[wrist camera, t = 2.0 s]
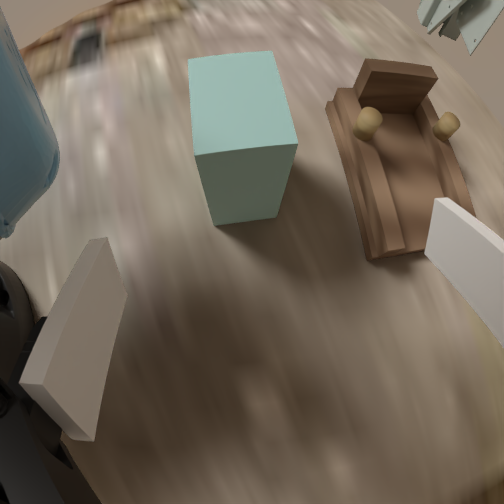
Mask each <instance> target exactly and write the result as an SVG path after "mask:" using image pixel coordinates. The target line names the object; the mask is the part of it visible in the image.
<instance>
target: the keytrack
mask: <svg viewBox="0 0 504 504" xmlns="http://www.w3.org/2000/svg"><path fill="white" fill-rule="evenodd" d="M437 80H438V77H437V75H436V74H435V72H434V70H433V69H432V67H430V66H424V65H418V64H411V63H404V62H396V61H387V60H377V59H365V61H364V63H363V65H362V68H361V70H360V72H359V75H358V77H357V79H356V82H355V84H354V86H353V88H337V91H336V94H335V96H334V99H333V101H328V102H327V105H326V108H325V110H326V113H327V116H328V119H329V122H330V125H331V128H332V131H333V134H334V137H335V141H336V144H337V147H338V150H339V154H340V157H341V160H342V164H343V167H344V171H345V174H346V178H347V181H348V185H349V189H350V192H351V196H352V200H353V204H354V208H355V212H356V216H357V220H358V224H359V228H360V232H361V237H362V241H363V245H364V250H365V255H366V259H367V261H369V260H374V259H380V258H386V257H392V256H398V255H403V254H409V253H415V252H420V251H425V248H426V243H427V238H428V233H429V228H430V223H431V217H432V211H433V205H434V199H435V198H446V197H448V198H449V199H451V200H452V201H453V202H455V203H456V204H458V205H459V206H460V207H462V208H463V209H464V210H466V211H467V212H468V213H470V214H471V215H472V216H474V217H475V218H476V215H475V212H474V209H473V205H472V202H471V199H470V196H469V193H468V190H467V187H466V184H465V181H464V178H463V176H462V173H461V170H460V167H459V165H458V162H457V160H456V157H455V155H454V152H453V150H452V147H451V145H450V142H449V140H448V139H449V138H450V137H451V136H452V135H453V133H454V132H455V131H456V130H457V129H458V128H459V127H460V121H459V119H458V118H457V117H456V116H455V115H454V114H453V113H451V112H445V113H444V115H443V116H442V117H441V118H440V119H439V118H438V116H437V114H436V111H435V109H434V107H433V105H432V103H431V101H430V99H429V97H428V95H427V94H428V92H429V91H430V90H431V88H432V87H433V85H434V84H435V83H436V81H437Z"/></svg>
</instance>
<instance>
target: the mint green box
mask: <svg viewBox="0 0 504 504" xmlns="http://www.w3.org/2000/svg"><path fill="white" fill-rule="evenodd" d="M188 72H189V90H190V106H191V120H192V134H193V147H194V156H195V160H196V164H197V167H198V171H199V175H200V178H201V182H202V186H203V189H204V193H205V196H206V200H207V204H208V207H209V211H210V214H211V218H212V221H213V225H214V226H217V225H224V224H231V223H238V222H246V221H253V220H261V219H268V218H276V217H277V214H278V211H279V208H280V204H281V201H282V198H283V194H284V191H285V187H286V184H287V181H288V177H289V174H290V170H291V167H292V163H293V160H294V157H295V153H296V150H297V146H298V140H297V136H296V133H295V129H294V125H293V121H292V118H291V114H290V110H289V107H288V103H287V100H286V96H285V93H284V89H283V86H282V82H281V79H280V75H279V72H278V69H277V66H276V62H275V59H274V56H273V53H272V51H259V52H245V53H234V54H224V55H215V56H208V57H200V58H193V59H188Z"/></svg>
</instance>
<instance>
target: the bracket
mask: <svg viewBox="0 0 504 504" xmlns="http://www.w3.org/2000/svg"><path fill="white" fill-rule="evenodd" d="M503 8H504V0H421V2H420V6H419V9H418V11H417V14H418V17H419V20H420V24H421V25H423V26H426V27H427V29H428V34H431V33H432V32H433V31H434V30H435V29H436V28H437V27H438V26H440V25H441V24H442V23H444V24H443V26H442V28H441V30H440V31H439V36H440V37H441V35H445V36H447V37H449V38H451V39H453V40H455V41H456V39H457V38H458V36H459V35H460V33H461V34H462V37H463V39H464V41H465V44H466V46H467V49H468V51H469V54H470V56H471V54H472V53H473V52H474V50H475V49H476V47H477V46H478V45H479V43H480V42H481V40H482V39H483V37H484V36H485V35H486V33H487V32H488V30H489V29H490V27H491V26H492V25H493V23H494V22H495V20H496V19H497V17H498V16H499V14H500V13H501V11H502V10H503ZM431 23H432V25H431ZM475 40H476V42H475Z"/></svg>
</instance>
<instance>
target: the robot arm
mask: <svg viewBox="0 0 504 504" xmlns="http://www.w3.org/2000/svg"><path fill="white" fill-rule="evenodd" d="M59 163H60V152H59V146H58V142H57V139H56V136H55V133H54V131H53V128H52V126H51V123H50V121H49V119H48V116H47V114H46V112H45V109H44V107H43V105H42V103H41V100H40V98H39V96H38V94H37V91H36V89H35V87H34V84H33V82H32V80H31V78H30V75H29V73H28V71H27V68H26V66H25V64H24V61H23V59H22V57H21V54H20V52H19V49H18V47H17V45H16V42H15V40H14V38H13V35H12V33H11V30H10V28H9V25H8V23H7V21H6V18H5V16H4V14H3V12H2V10H1V8H0V240H1V239H2V238H8V237H9V236H10V235H11V234H12V233H13V232H14V229H15V225H16V223H17V222H18V221H19V219H20V218H21V217H22V216H23V215H24V214H25V213H26V212H27V211H28V210H29V209H30V208H31V206H32V205H33V204H34V203H35V202H36V201H37V200H38V199H39V198H40V197H41V196H42V195H43V194H44V193H45V192H46V191H47V190H48V189H49V187H50V186H51V184H52V183H53V181H54V180H55V177H56V175H57V172H58V169H59ZM424 254H425V255H426V256H427V257H428V258H429V259H430V261H431V262H432V263H433V264H434V265H435V266H436V267H437V268H438V269H439V270H440V271H441V272H442V274H443V275H444V276H445V277H446V278H447V279H448V280H449V281H450V283H451V284H452V285H453V286H454V287H455V288H456V289H457V291H458V292H459V293H460V294H461V295H462V296H463V298H464V299H465V300H466V301H467V302H468V303H469V305H470V306H471V307H472V308H473V309H474V311H475V312H476V313H477V314H478V316H479V317H480V318H481V319H482V321H483V322H484V323H485V324H486V326H487V327H488V328H489V329H490V331H491V332H492V333H493V335H494V336H495V337H496V339H497V340H498V341H499V343H500V344H501V345H502V347H503V348H504V240H503V239H502V238H500V237H499V236H498V235H497V234H495V233H494V232H493V231H492V230H490V229H489V228H488V227H487V226H485V225H484V224H483V223H482V222H480V221H479V220H478V219H476V218H475V217H474V216H472V215H471V214H470V213H468V212H467V211H466V210H464V209H463V208H462V207H460V206H459V205H458V204H456V203H455V202H453V201H452V200H451V199H449V198H448V197H446V198H435V199H434V205H433V211H432V217H431V223H430V228H429V233H428V238H427V243H426V248H425V252H424ZM127 296H128V295H127V293H126V290H125V287H124V285H123V282H122V279H121V276H120V274H119V271H118V268H117V265H116V262H115V259H114V256H113V253H112V250H111V247H110V244H109V241H108V238H107V237H106V238H100V239H94V240H89V242H88V244H87V245H86V247H85V249H84V250H83V252H82V254H81V256H80V257H79V259H78V261H77V262H76V264H75V266H74V268H73V269H72V271H71V273H70V275H69V277H68V278H67V280H66V282H65V284H64V286H63V288H62V290H61V291H60V293H59V295H58V297H57V299H56V301H55V303H54V305H53V307H52V309H51V311H50V313H49V315H48V316H47V317H42V318H41V319H40V320H39V321H38V322H37V323H36V324H35V326H34V322H33V316H32V312H31V308H30V304H29V301H28V298H27V295H26V292H25V290H24V288H23V286H22V284H21V282H20V280H19V279H18V277H17V276H16V274H15V273H14V272H13V271H12V270H11V269H10V268H9V267H8V266H7V265H6V264H5V263H3V262H1V261H0V504H102V503H101V502H100V500H99V499H98V497H97V496H96V495H95V493H94V492H93V490H92V489H91V487H90V486H89V484H88V483H87V481H86V479H85V478H84V476H83V475H82V473H81V472H80V470H79V468H78V467H77V465H76V463H75V462H74V460H73V458H72V456H71V455H70V453H69V451H68V449H67V448H66V446H65V444H64V443H63V442H62V441H61V440H60V437H61V432H62V430H63V431H64V432H65V433H66V434H67V435H68V436H69V437H70V438H71V439H72V440H82V441H93V442H94V440H95V433H96V428H97V422H98V416H99V411H100V406H101V401H102V396H103V391H104V386H105V382H106V377H107V373H108V368H109V364H110V360H111V356H112V352H113V348H114V344H115V340H116V336H117V332H118V328H119V324H120V321H121V317H122V313H123V310H124V306H125V303H126V299H127Z"/></svg>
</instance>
